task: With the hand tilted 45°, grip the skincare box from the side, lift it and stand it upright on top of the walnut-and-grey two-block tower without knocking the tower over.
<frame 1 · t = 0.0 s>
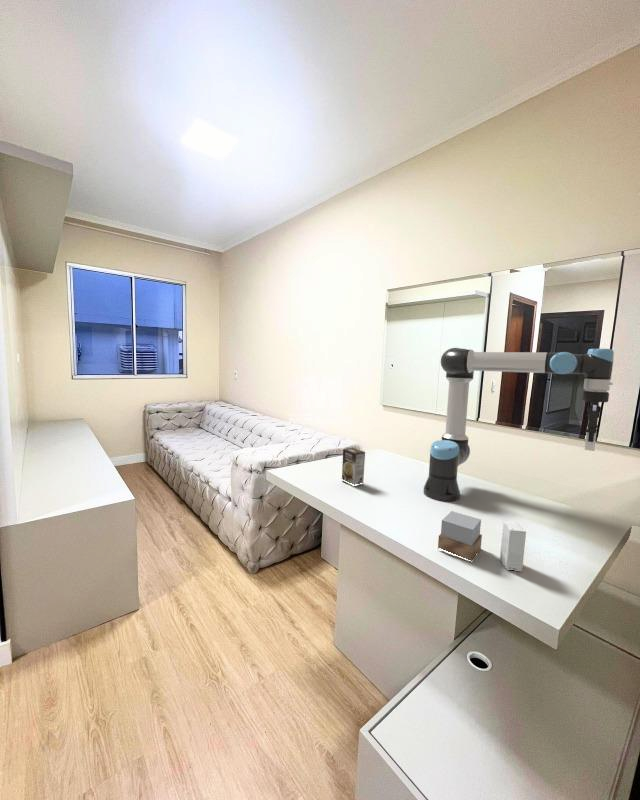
hand: (589, 447, 129), 28 cm above the table, tool pointing down, fingers open, 13 cm apart
tower base block: (459, 550, 107), on the table, touching tower top block
skincare box: (510, 566, 99), on the table
tower top block: (460, 535, 106), point 5 cm above the table, touching tower base block
coffee box: (352, 483, 163), on the table
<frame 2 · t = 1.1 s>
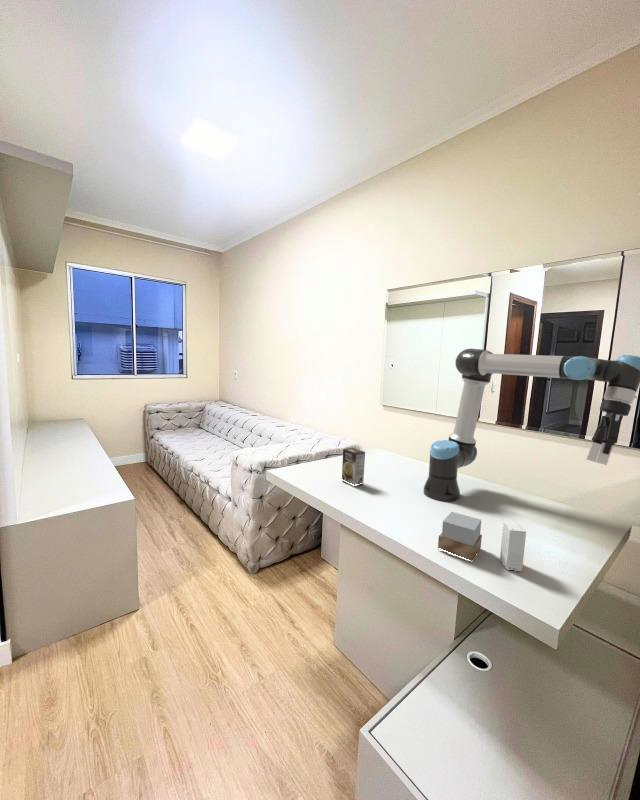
hand: (595, 462, 115), 26 cm above the table, tool tilted 15°, fingers open, 13 cm apart
nothing on the table moved.
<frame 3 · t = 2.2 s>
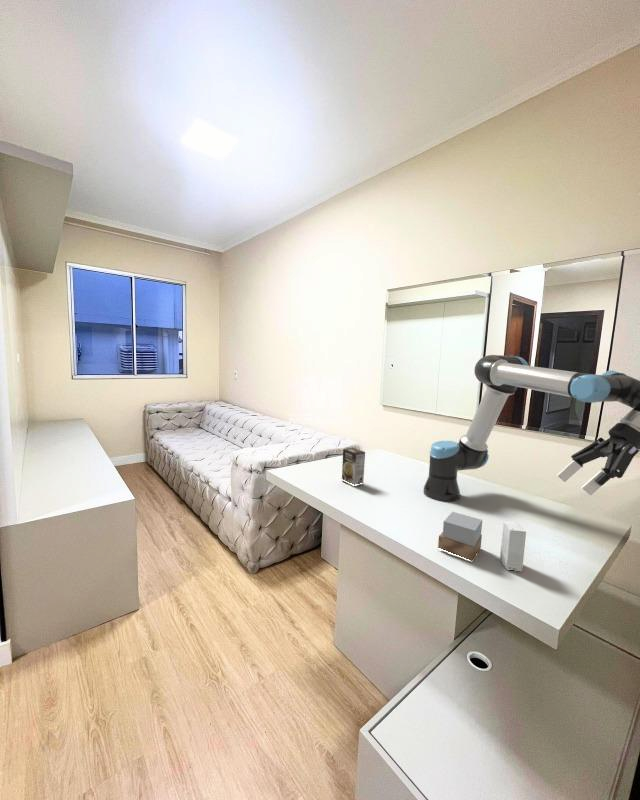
hand: (572, 484, 97), 24 cm above the table, tool tilted 40°, fingers open, 13 cm apart
tower base block: (459, 550, 107), on the table
tower top block: (461, 536, 106), point 5 cm above the table
everything else where it was.
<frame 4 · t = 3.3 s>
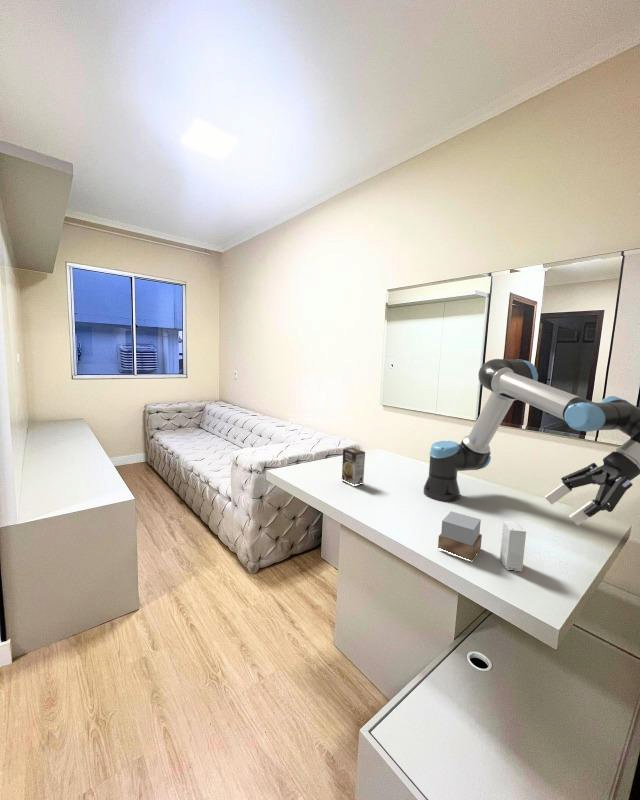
hand: (559, 510, 95), 18 cm above the table, tool tilted 45°, fingers open, 13 cm apart
tower base block: (459, 550, 107), on the table, touching tower top block
tower top block: (460, 535, 106), point 5 cm above the table, touching tower base block
everything else where it was.
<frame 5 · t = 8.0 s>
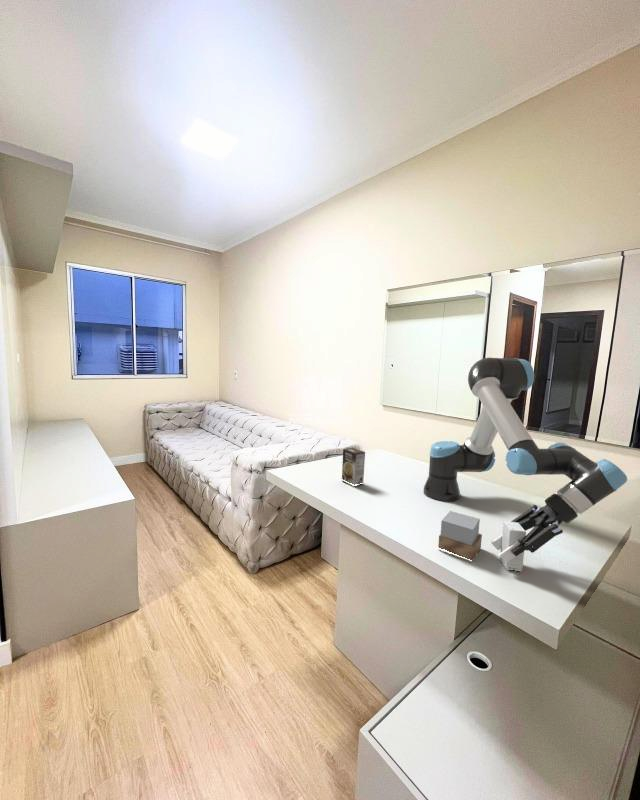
hand: (498, 552, 99), 4 cm above the table, tool tilted 45°, fingers closed on skincare box, 6 cm apart
skincare box: (510, 566, 99), on the table, touching gripper
everything else where it was.
when the fingers open (15 cm above the table, at t = 12.8 s): skincare box drops 1 cm, resting on tower top block.
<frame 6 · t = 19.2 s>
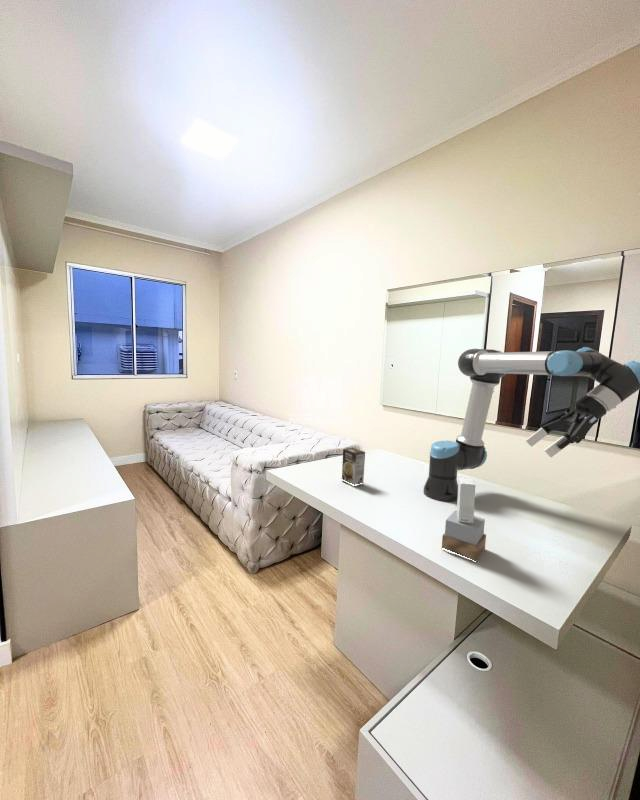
hand: (537, 448, 108), 32 cm above the table, tool tilted 45°, fingers open, 13 cm apart
tower base block: (463, 550, 107), on the table, touching tower top block
skincare box: (464, 519, 106), point 10 cm above the table, touching tower top block
tower top block: (464, 534, 106), point 5 cm above the table, touching skincare box, tower base block
everything else where it was.
at the end: skincare box inside the target area on the tower top block (0.2 cm from its centre), point 4.9 cm above the tower top block's base; skincare box tilted 2°; tower top block 0.1 cm off-centre on the tower base block, point 5.0 cm above the tower base block's base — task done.
